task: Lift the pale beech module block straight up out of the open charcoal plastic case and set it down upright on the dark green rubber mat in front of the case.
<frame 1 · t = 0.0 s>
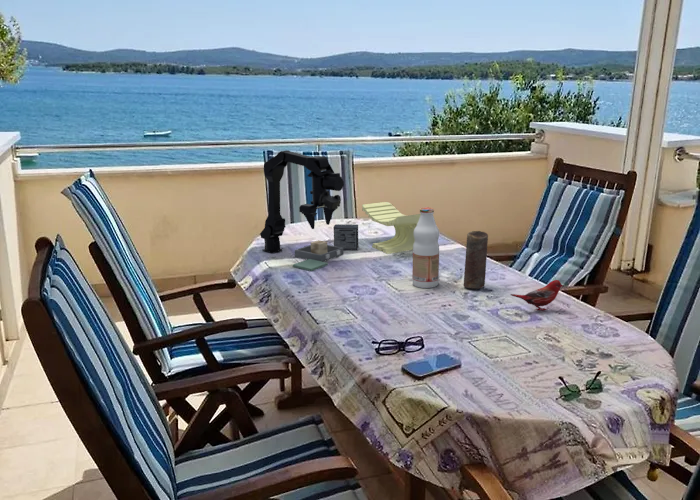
hand: (320, 226, 246), 15 cm above the table, tool pointing down, fingers open, 9 cm apart
decorative bird figurine: (535, 311, 194), on the table
fruit juice: (425, 284, 220), on the table
slatted curved stool: (394, 248, 269), on the table
mat: (310, 266, 244), on the table
candle: (474, 288, 216), on the table
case: (319, 255, 258), on the table
small box: (346, 248, 269), on the table
module block: (319, 249, 257), in the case
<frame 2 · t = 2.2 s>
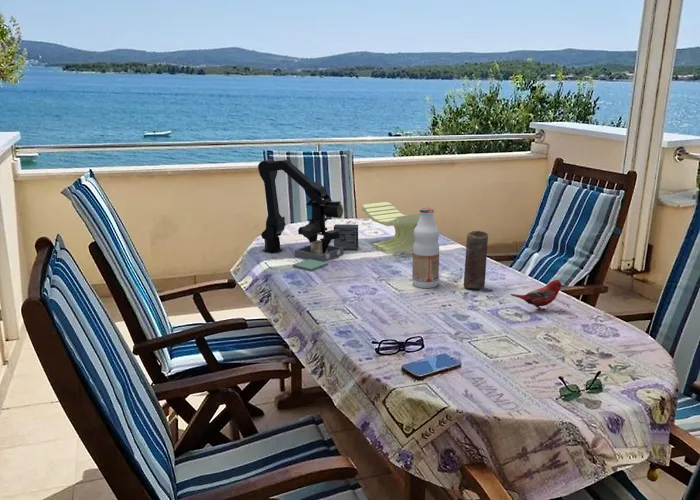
hand: (319, 252, 258), 2 cm above the table, tool pointing down, fingers closed on module block, 5 cm apart
module block: (319, 248, 257), in the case, touching gripper
everything else where it was.
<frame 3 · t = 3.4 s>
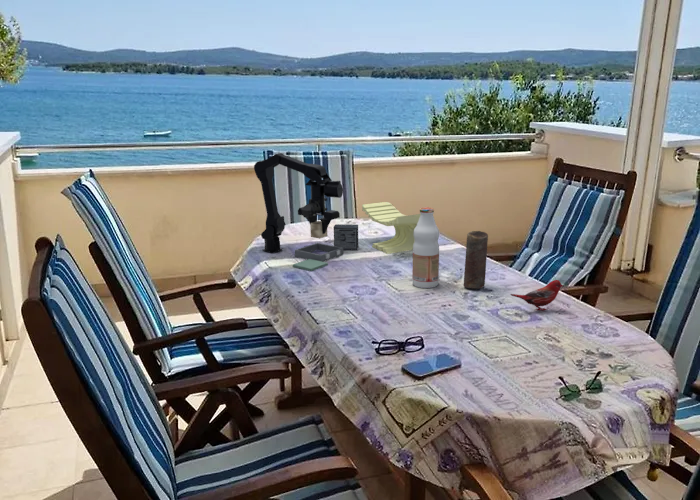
hand: (318, 232, 255), 10 cm above the table, tool pointing down, fingers closed on module block, 5 cm apart
module block: (318, 229, 255), point 11 cm above the table, touching gripper
everything else where it was.
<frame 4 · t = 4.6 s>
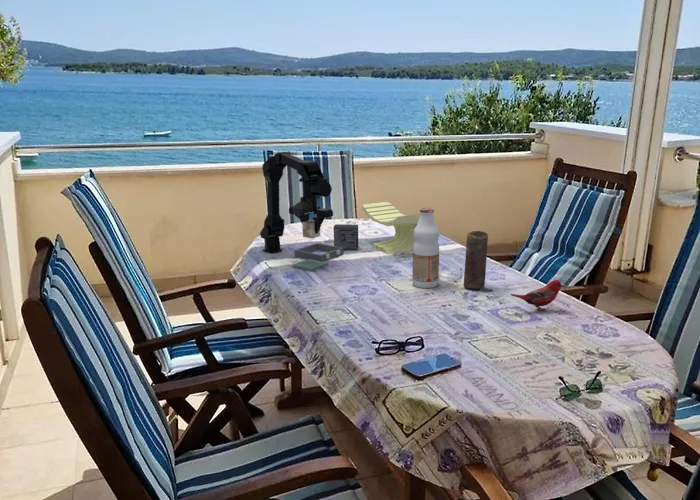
hand: (311, 232, 242), 13 cm above the table, tool pointing down, fingers closed on module block, 5 cm apart
module block: (311, 229, 242), point 15 cm above the table, touching gripper
everything else where it was.
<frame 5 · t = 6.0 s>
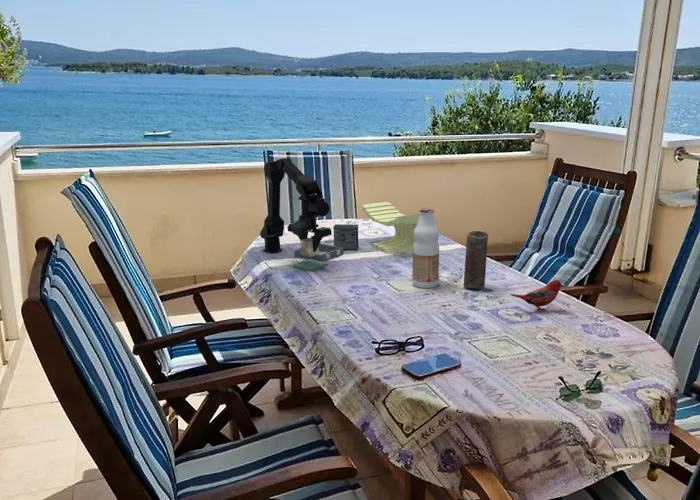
hand: (309, 250, 242), 6 cm above the table, tool pointing down, fingers closed on module block, 5 cm apart
module block: (309, 247, 242), point 8 cm above the table, touching gripper
everything else where it was.
when the fingers open (3 cm above the table, at t = 7.0 s): module block stays where it is, resting on mat.
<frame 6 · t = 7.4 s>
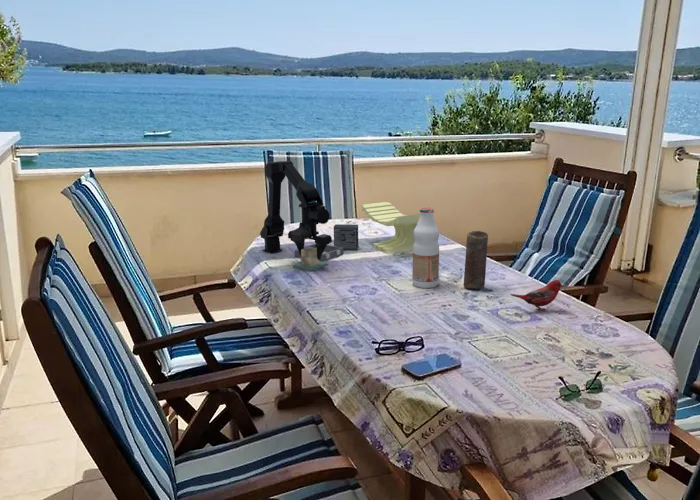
hand: (310, 257, 243), 3 cm above the table, tool pointing down, fingers open, 9 cm apart
module block: (310, 256, 243), on the mat, point 4 cm above the table
everything else where it was.
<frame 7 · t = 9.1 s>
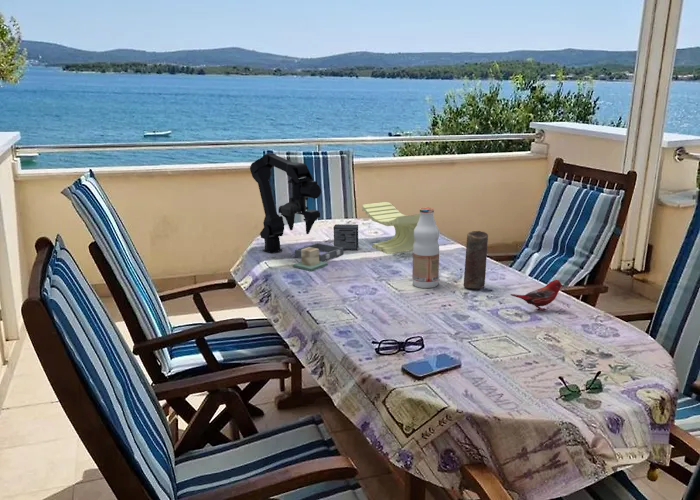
hand: (299, 232, 251), 11 cm above the table, tool pointing down, fingers open, 9 cm apart
nothing on the table moved.
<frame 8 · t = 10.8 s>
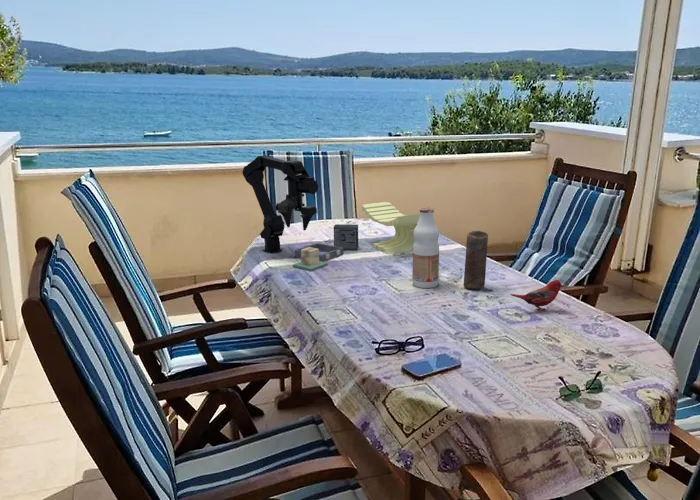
hand: (296, 228, 255), 12 cm above the table, tool pointing down, fingers open, 9 cm apart
nothing on the table moved.
at the end: module block inside the target area on the mat (0.1 cm from its centre), point 4.0 cm above the mat's base; module block tilted 0°; the gripper is holding nothing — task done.
